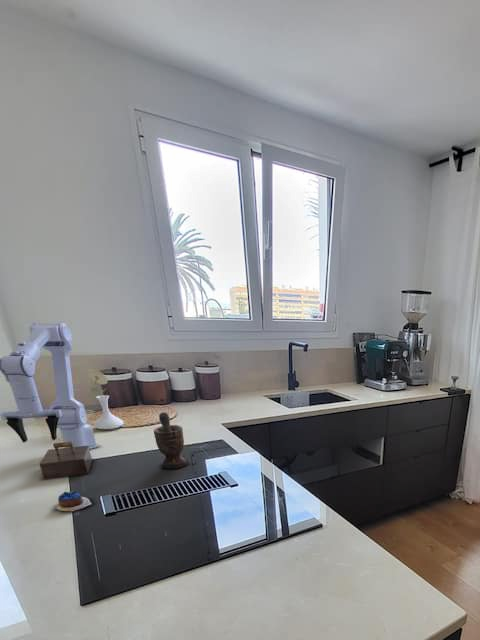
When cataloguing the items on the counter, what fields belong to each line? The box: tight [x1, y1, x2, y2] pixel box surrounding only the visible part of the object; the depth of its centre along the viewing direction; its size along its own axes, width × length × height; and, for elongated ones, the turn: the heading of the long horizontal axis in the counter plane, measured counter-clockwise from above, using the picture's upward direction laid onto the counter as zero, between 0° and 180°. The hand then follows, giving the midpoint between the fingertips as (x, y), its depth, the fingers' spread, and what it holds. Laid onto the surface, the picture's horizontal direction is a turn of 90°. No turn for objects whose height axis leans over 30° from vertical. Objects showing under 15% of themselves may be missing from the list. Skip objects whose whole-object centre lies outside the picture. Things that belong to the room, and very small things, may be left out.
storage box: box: [39, 449, 93, 480], centre depth 128 cm, size 13×11×4 cm
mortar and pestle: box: [153, 411, 187, 470], centre depth 129 cm, size 12×9×20 cm
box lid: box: [39, 441, 90, 467], centre depth 126 cm, size 14×11×4 cm
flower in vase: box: [86, 368, 125, 430], centre depth 168 cm, size 13×11×25 cm
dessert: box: [56, 490, 92, 512], centre depth 106 cm, size 8×7×6 cm
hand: (40, 440), depth 124 cm, fingers open, 7 cm apart
